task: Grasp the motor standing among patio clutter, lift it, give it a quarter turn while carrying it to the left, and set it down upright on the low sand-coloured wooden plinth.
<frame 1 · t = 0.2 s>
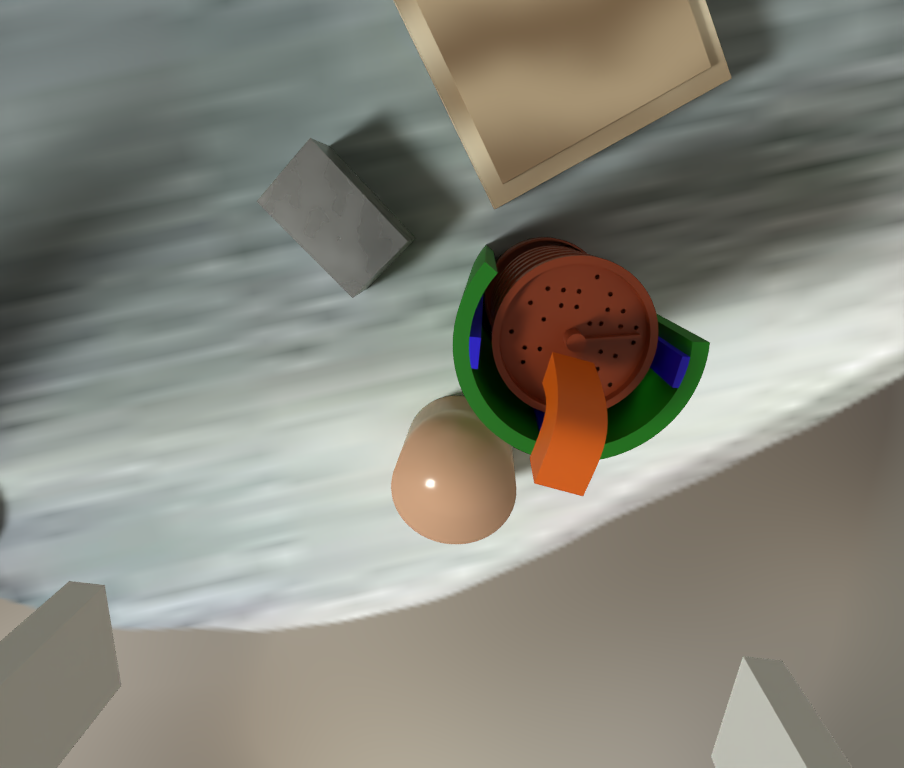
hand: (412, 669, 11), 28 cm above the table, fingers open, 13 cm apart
grey stone block: (349, 220, 35), on the table
motor: (539, 303, 36), on the table
plinth: (546, 42, 31), on the table
tan rounded cylinder: (459, 444, 40), on the table
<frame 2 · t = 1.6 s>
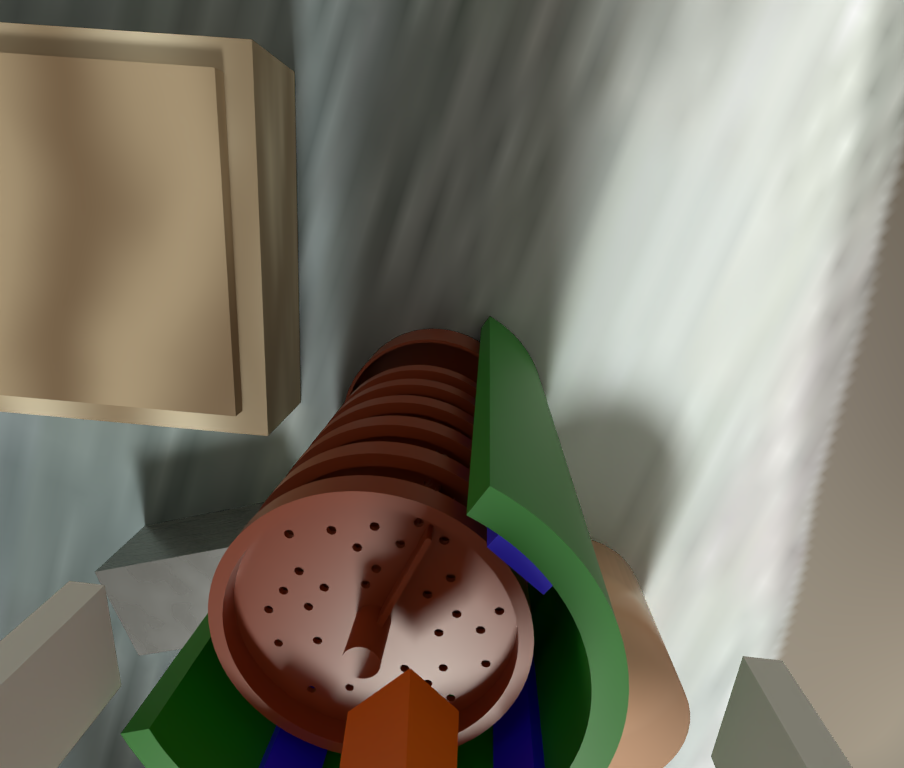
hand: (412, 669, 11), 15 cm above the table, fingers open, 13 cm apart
grey stone block: (232, 549, 28), on the table
motor: (445, 413, 25), on the table
plinth: (141, 240, 23), on the table
tan rounded cylinder: (563, 600, 28), on the table
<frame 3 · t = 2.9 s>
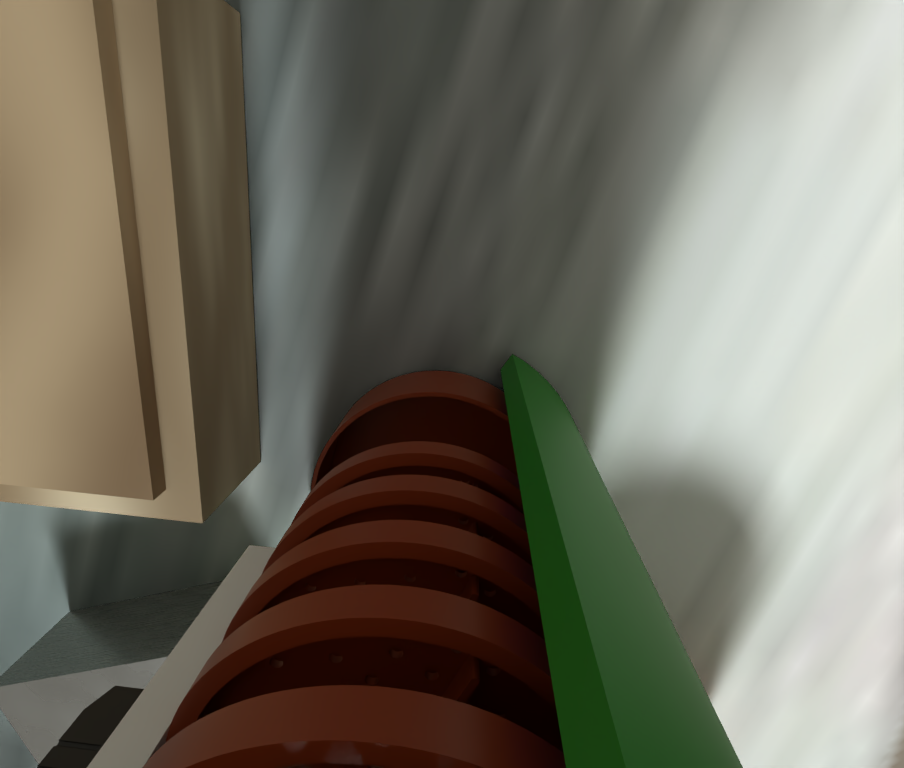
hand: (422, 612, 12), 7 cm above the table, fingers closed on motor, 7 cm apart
grey stone block: (180, 638, 22), on the table
motor: (451, 480, 19), on the table, touching gripper
plinth: (44, 249, 17), on the table
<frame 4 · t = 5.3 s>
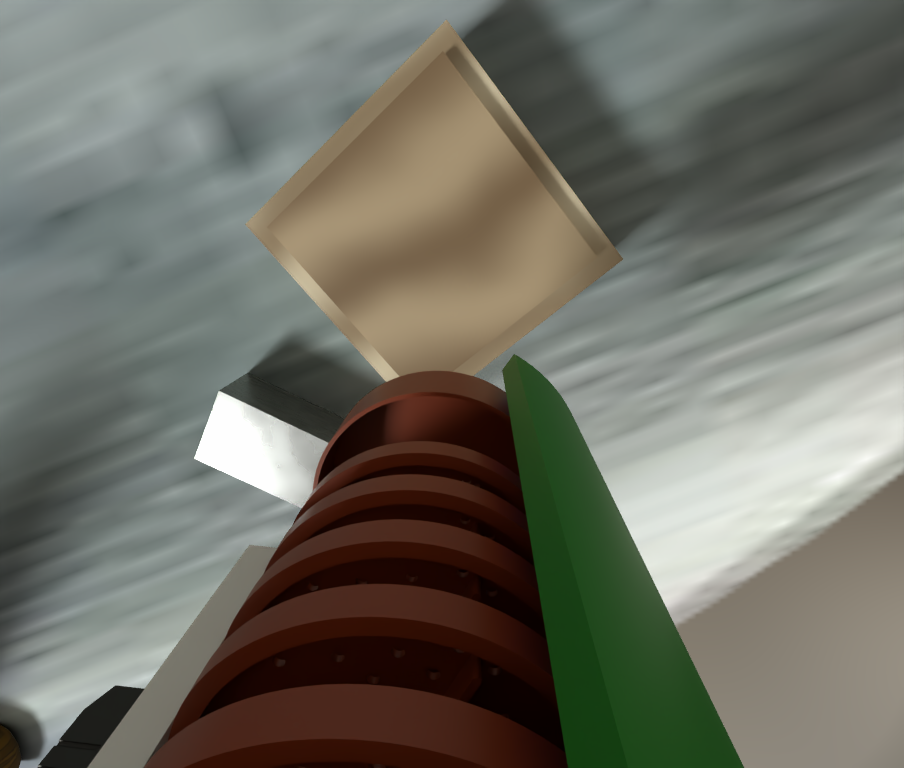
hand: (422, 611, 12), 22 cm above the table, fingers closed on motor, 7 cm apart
grey stone block: (291, 428, 36), on the table
motor: (452, 480, 19), point 15 cm above the table, touching gripper
plinth: (438, 238, 31), on the table
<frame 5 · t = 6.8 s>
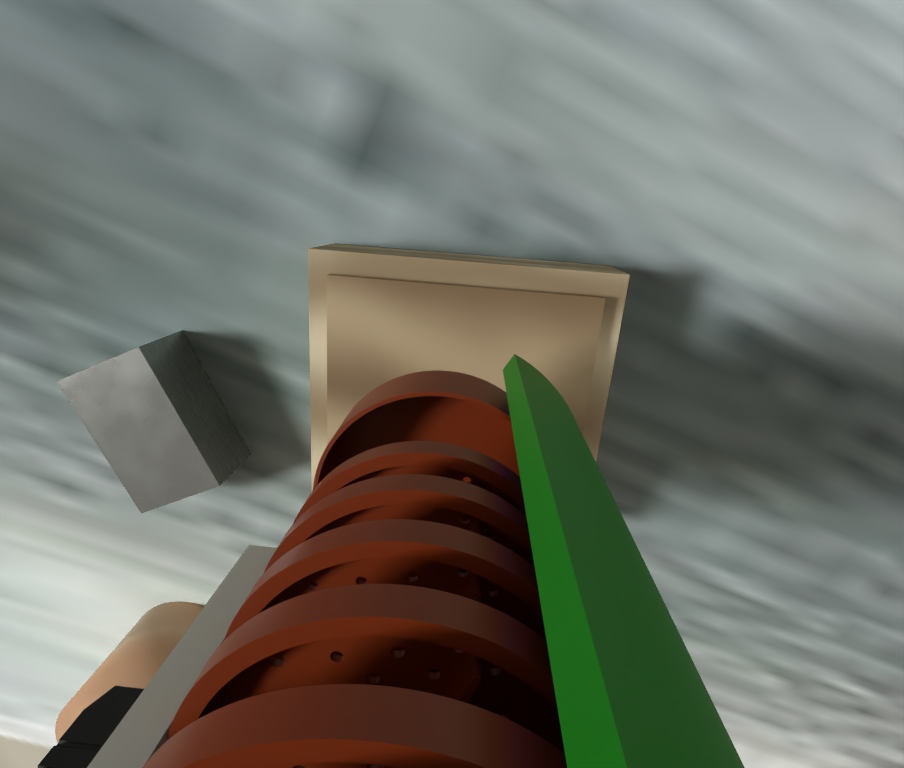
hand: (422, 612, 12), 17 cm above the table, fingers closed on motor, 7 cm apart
grey stone block: (183, 407, 30), on the table
motor: (453, 480, 19), point 10 cm above the table, touching gripper
plinth: (459, 385, 28), on the table
tan rounded cylinder: (191, 648, 36), on the table
when the fingers open (12 cm above the table, at t = 7.9 s): motor drops 1 cm, resting on plinth.
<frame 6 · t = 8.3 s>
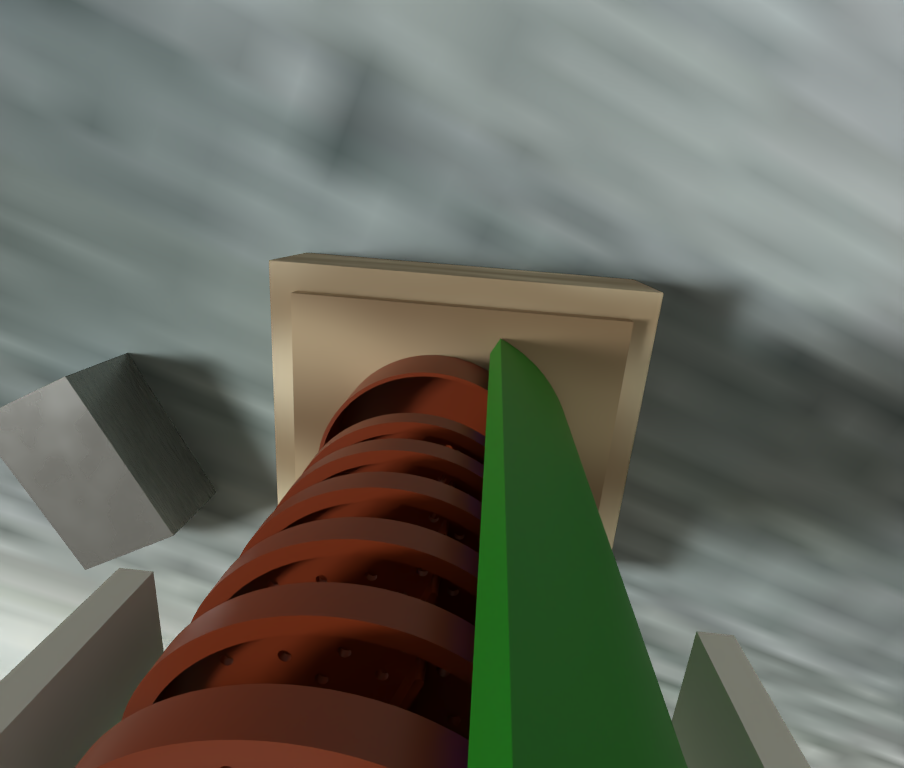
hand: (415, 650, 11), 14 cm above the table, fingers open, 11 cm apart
grey stone block: (135, 441, 26), on the table
motor: (448, 458, 20), point 4 cm above the table, touching plinth
plinth: (455, 417, 24), on the table
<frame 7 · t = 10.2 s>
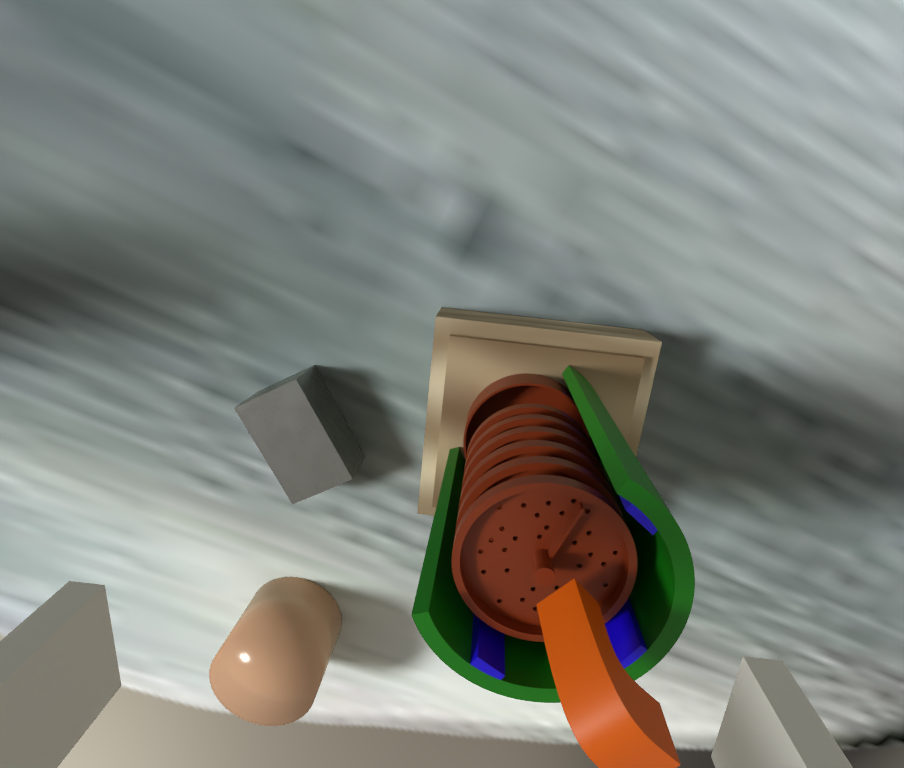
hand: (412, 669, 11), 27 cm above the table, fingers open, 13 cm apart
grey stone block: (313, 423, 40), on the table
motor: (531, 434, 34), point 4 cm above the table, touching plinth
plinth: (527, 413, 38), on the table
tan rounded cylinder: (296, 616, 45), on the table
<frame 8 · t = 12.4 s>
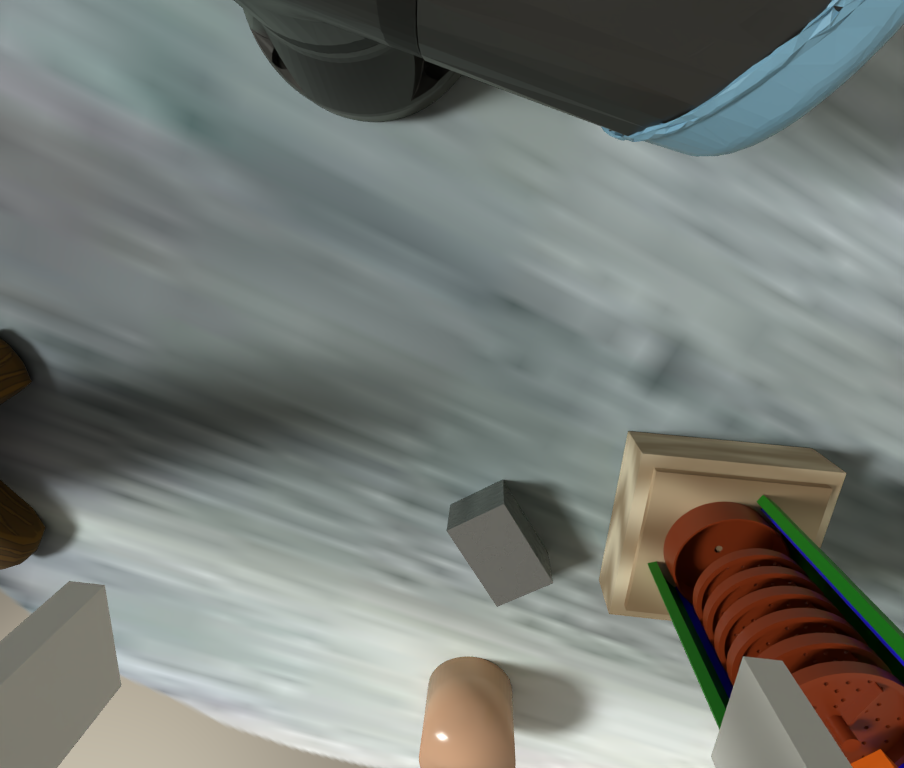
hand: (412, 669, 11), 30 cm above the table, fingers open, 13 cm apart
grey stone block: (499, 527, 44), on the table
motor: (722, 550, 38), point 4 cm above the table, touching plinth
plinth: (699, 518, 42), on the table
tan rounded cylinder: (469, 689, 50), on the table
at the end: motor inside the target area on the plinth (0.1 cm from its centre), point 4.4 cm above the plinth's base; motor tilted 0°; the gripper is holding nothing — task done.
